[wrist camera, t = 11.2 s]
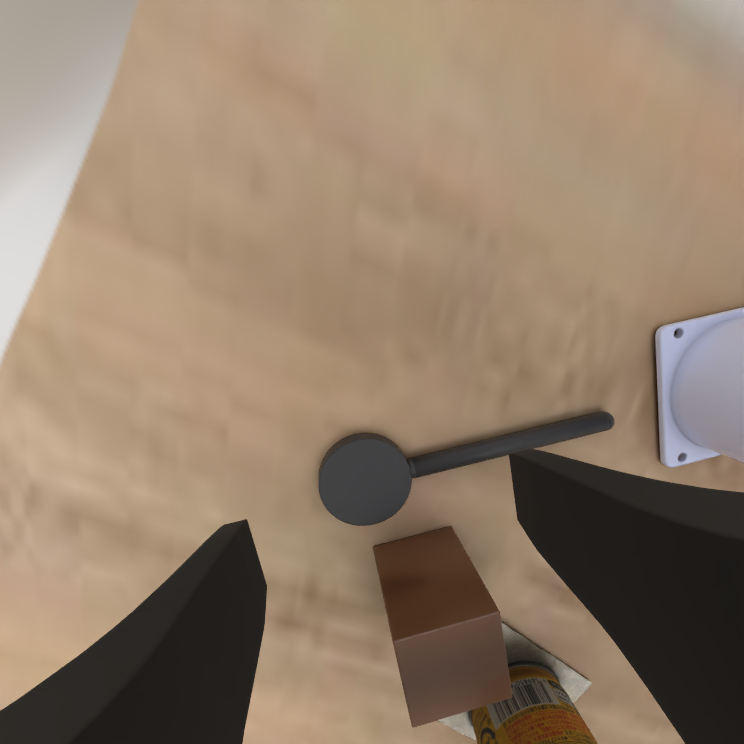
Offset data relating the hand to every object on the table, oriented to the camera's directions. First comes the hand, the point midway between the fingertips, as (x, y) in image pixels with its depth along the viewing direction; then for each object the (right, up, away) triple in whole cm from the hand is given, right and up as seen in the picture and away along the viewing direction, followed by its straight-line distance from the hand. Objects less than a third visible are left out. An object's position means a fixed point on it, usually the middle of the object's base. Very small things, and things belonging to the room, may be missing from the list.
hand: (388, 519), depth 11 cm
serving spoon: (+4, 0, +10) cm, 11 cm away
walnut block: (+2, -7, +11) cm, 14 cm away
